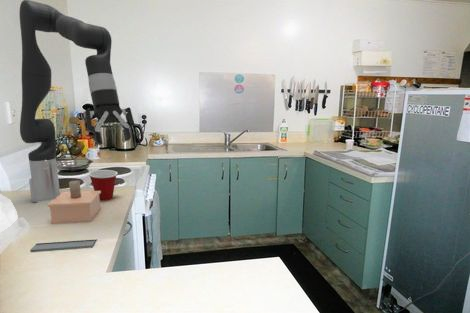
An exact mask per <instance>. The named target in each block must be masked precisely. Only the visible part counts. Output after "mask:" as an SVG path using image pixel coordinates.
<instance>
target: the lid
mask: <svg viewBox="0 0 470 313" xmlns="http://www.w3.org/2000/svg"><path fill="white" fill-rule="evenodd" d="M68 185H69V186H68V187H69V191H63V192H60V195H59V196H58V197H56V198H55V199H52V200H50V202H49V203H47V206H46V207H47V208H50V207H57V206H77V205H91V204H92V203H93V201H94V200H95V199H96V198H97V197H98V195H99V194H100V193H101V191H94V190H87V191H86V190H85V191H83V190H81V182H80V180H72V181H71V180H70V181H69V182H68Z"/></svg>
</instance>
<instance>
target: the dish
mask: <svg viewBox="0 0 470 313" xmlns="http://www.w3.org/2000/svg"><path fill="white" fill-rule="evenodd" d="M49 209H50V210H49V211H50V217H51V224H52V225H53V224H54V225H55V224H57V225H58V224H70V223H88V222H92V221H93V219H94V218H95V217H96V215H97V214H98V213H99V211H100V210H101V201H100V198H99V195H98V197H97V198H96V199H95V200H94V201H93V203H92V204H91V205H77V206H57V207H49Z"/></svg>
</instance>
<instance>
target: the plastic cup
mask: <svg viewBox="0 0 470 313" xmlns="http://www.w3.org/2000/svg"><path fill="white" fill-rule="evenodd" d="M88 176H89V177H90V181H91V183H92V187H93V191H101V193H100V194H99V198H100V202H104V201H110V200H112V199H114V192H115V184H116V178H117V177H118V171H116V170H111V169H100V170H99V169H97V170H93V171H90V172H89V173H88Z"/></svg>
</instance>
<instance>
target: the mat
mask: <svg viewBox="0 0 470 313" xmlns="http://www.w3.org/2000/svg"><path fill="white" fill-rule="evenodd" d="M97 240H98V239H81V240H70V241H69V240H68V241H57V242H41V243H40V242H38V243H35V245H34V246H33V247H32V248H30V253H34V252H47V251H51V252H52V251H63V250H75V249H77V250H78V249H91V248H94V247H95V246H94V245H95V244H96V242H97Z"/></svg>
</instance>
